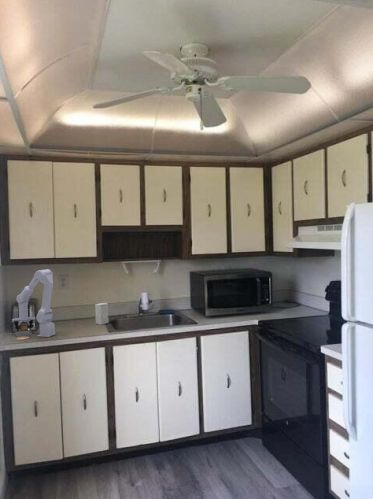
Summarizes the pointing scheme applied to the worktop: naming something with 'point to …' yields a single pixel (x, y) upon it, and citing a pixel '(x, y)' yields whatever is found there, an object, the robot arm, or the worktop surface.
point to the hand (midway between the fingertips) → (24, 331)
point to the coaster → (22, 337)
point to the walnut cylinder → (24, 327)
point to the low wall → (23, 333)
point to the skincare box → (101, 313)
